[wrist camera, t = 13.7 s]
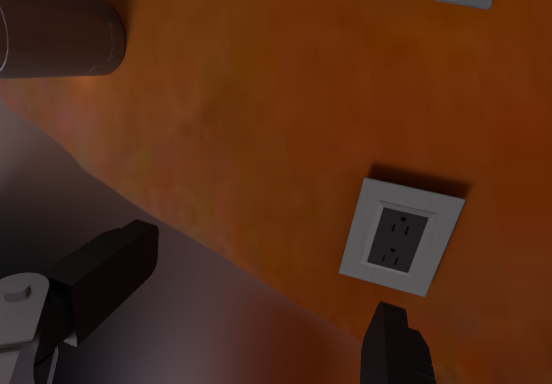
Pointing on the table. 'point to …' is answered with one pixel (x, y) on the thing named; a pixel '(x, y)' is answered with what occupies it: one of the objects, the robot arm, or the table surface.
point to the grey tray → (471, 3)
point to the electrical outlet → (399, 235)
